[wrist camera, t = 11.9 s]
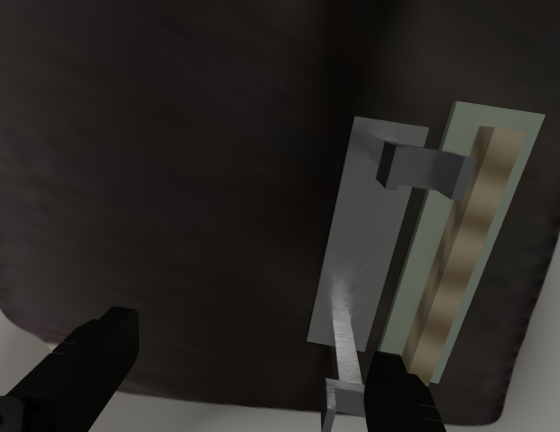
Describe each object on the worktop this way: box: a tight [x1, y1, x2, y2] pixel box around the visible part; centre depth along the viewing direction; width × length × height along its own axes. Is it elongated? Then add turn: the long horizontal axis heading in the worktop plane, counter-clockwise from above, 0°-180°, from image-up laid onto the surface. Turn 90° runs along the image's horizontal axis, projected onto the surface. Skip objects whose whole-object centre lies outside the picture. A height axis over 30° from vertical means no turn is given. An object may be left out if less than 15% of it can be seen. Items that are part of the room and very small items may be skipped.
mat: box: [377, 101, 545, 383], centre depth 39 cm, size 36×9×1 cm, turn 171°
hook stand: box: [307, 116, 477, 432], centre depth 33 cm, size 30×8×15 cm, turn 172°
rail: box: [402, 126, 527, 386], centre depth 37 cm, size 32×3×3 cm, turn 172°
